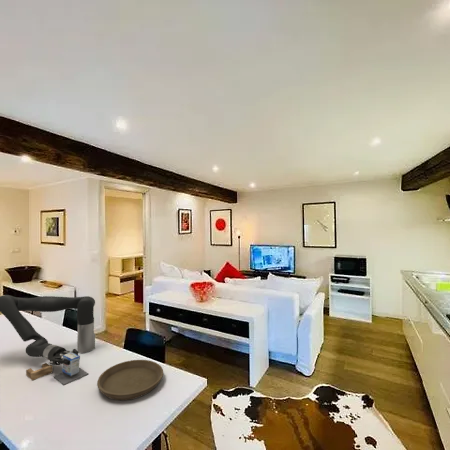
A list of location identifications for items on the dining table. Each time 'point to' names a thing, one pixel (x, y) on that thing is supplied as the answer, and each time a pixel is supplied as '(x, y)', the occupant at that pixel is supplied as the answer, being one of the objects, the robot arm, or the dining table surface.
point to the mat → (70, 377)
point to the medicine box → (71, 364)
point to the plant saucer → (130, 379)
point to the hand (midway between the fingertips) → (74, 360)
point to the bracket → (39, 371)
